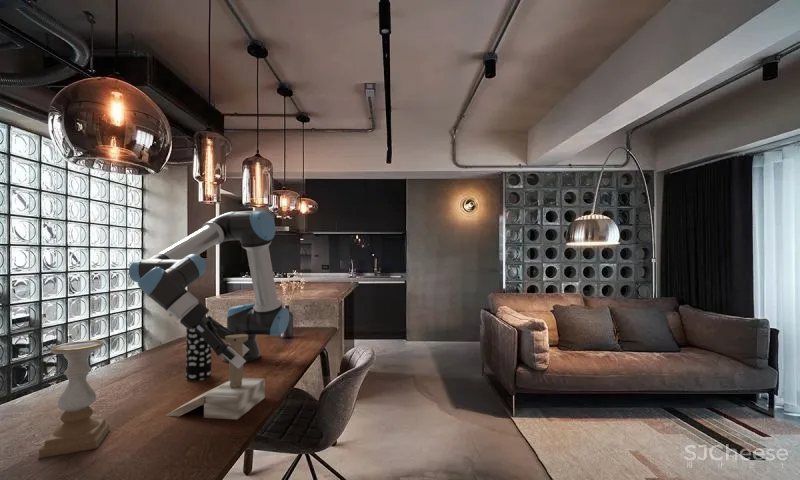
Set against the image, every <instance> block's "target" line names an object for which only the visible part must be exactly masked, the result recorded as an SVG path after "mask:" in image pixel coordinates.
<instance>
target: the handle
mask: <svg viewBox="0 0 800 480" xmlns="http://www.w3.org/2000/svg"><path fill="white" fill-rule="evenodd" d="M247 340H248V335H246V334H238V335H228V336H225V340H224V342H225V343H227V342H228V343H230V346H231V348H232V349H233V350H234V351H235V352H236V353H238V354H239V355H240V356H241V357H242V358H243V343H244V342H245V341H247ZM228 363H229V364H228V376H229V377H228V378H229V380H230V382H231V383H230V387H233V388H236V387H240V386H241V385H242V381H241V380H242V378H244V364H243V365H242V366H241V367H240V368H239V369H238V368H237V367H236V366H235V365H233V364H232V363H231V362H228Z"/></svg>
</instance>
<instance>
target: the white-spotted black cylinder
mask: <svg viewBox="0 0 800 480" xmlns="http://www.w3.org/2000/svg"><path fill="white" fill-rule="evenodd" d="M185 328H186V327H185ZM195 328H196V326H195V325H194V326H193V327H192V328H191V329H187V328H186V329H185V330H186V331H185V332H186V334H185V335H186V336H185V337H186V338H185V340H186V342H185V346H186V347H185V348H186V349H185V380H186V381H189V382H198V381H204V380H207V379H209V378H211V377H212V348H211V347H210V346H209V345H208V343H207V342H206V341H205V340H204V339H203V338H202V337H201V336H200V335H199V334H198V333H197V332H196V331H195V330H194V329H195Z"/></svg>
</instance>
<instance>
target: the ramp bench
mask: <svg viewBox="0 0 800 480" xmlns="http://www.w3.org/2000/svg"><path fill="white" fill-rule="evenodd" d="M241 381H242V385H241V386H240V387H236V388H233V387H230V383H231V382H230V379H229V380H227V381H225V382H223V383H222V384H220V385H217V386H216V387H214V388H211V389H209V390H208V391H205V392H203V393H202V394H199V395H198V396H196V397H195V398H193V399H191V400H189V401H187V402H186V403H184V404H182V405H180V406H179V407H177V408H176V409H174V410H172V411H171V412H168V413H167V414H165V415H164V416H165V417H167V416H168V417H181V416H183V415H185V414H186V413H189V412H191V411H192V410H195V409H197V408H199V407H200V406H203V418H204V419H206V418H207V419H224V420H238V419H240V418H241V417H242V416H244V415H245V414H246V413H248V412H249V411H250V410H252V408H254V407H255V406H256V405H258V404H259V403H260V402H262V400H264V399H265V398H266V391H265V390H266V388H265V387H266V378H263V377H262V378H259V377H257V378H256V377H243V378H242V380H241Z"/></svg>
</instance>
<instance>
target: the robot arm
mask: <svg viewBox="0 0 800 480" xmlns="http://www.w3.org/2000/svg"><path fill="white" fill-rule="evenodd" d="M276 231H277V230H276V224H275V220H274V217H272V215H271V214H270V213H268V212H267V211H264V210H245V211H244V210H243V211H240V210H239V211H229V212H225V213H223V214H222V213H221V214H220V215H218V216H216V217H214V218H212V219H209V220H208V221H206V222H204V223H203V224H202V225H201V228H199V229H198V230H196V231H194V232H192V233H191V234H189V235H188V236H185V237H184V238H183V239H181V240H179V241H177V242H176V243H173V244H172V245H170V246H168V247H167V248H165V249H164V250H162V251H160V252H158V253H157V254H155V255H153V256H151V257H149V258H141V259H136V260H134V261H133V262H132V263H130V266H129V267H128V275H129V277H130V279H131V280H132V281H133V282H134V283H137V286H138V288H140V290H141V291H142V292H144V294H146V295H145V296H146V297H149V298H150V299H151V300H153V302H155V303H156V304H158V305H159V307H161V308H163V309H164V310H165V312H167V313H168V316H169V317H173V318H174V319H176V320H180V322H179V323H180V324H181V325H182V326H184V328H187V329H191V328H192V327H193V326H194V325H195V326H196V328H195V329H194V330H195V331H196V332H197V333H198V334H199V335H200V336H201V337H202V338H203V339H204V340H205V341H206V342H207V343H208V345H209V346H210V347H211V350H213V352H214V353H215V355H216V356H217V357H219V356H222V361H223V362H225V363H229V362H231V363H232V364H233V365H235V366H236V367H237V368H238V369H239V368H240V367H241V366H242V365H243V366H244V364H245V363H247V362H251V361H255V360H257V359H260V356H261V350H260V348H259V345H258V341H257V339H256V338H257V336H258V335H259V336H271V337H272V336H281V335H282V334H284V333H285V332H286V330H287V328H288V325H289V322H290V311H289V309H288V308H287V307H284V306H283V303H282V301H281V300H280V299H278V295H277V289H276V284H275V277H274V272H273V265H272V264H273V263H272V260H271V253H270V248H269V247H270V246H271V243H272V240H273V239H274V237H275V235H276ZM229 241H240V245H241V248H243V249H244V250H246V255H247V260H248V266H249V271H250V276H251V283H252V288H253V293H254V300H255V303H246V304H240V305H234V306H230V307H228V309H227V313H226V314H227V315H226V327H225V326H224V325H222V324H221V323H220V322H219V321H217V320H215V319H214V318H212V316H210V315H208V313H209V312H210V309H209V308H208V307H206V305H204V304H203V303H202V302H199V299H198V298H197V297H196V296H194V295H193V294H192V293H191V292H190V291H188V289H186V288H187V287H188V286H189V285H190V284H192V283H194V282H195V281H196V280H198V279H200V277H201V276H202V275H203V274H204V273H205V272H206V270H207V264H206V262H205V260H204V258H203V257H201V256H200V254H202V253H203V252H205V251H207V250H209V249H210V248H212V247H213V246H217V245H220V244H222V243H224V242H229ZM206 315H208V316H206ZM238 334H246V335H248V340H247V341H245V342H244V343H243V358H242V357H241V356H240V355H239V354H238V353H236V352H235V351H234V350H233V349H232V348H231V346H230V343H228V342H225V336H228V335H238ZM256 335H257V336H256Z"/></svg>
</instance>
